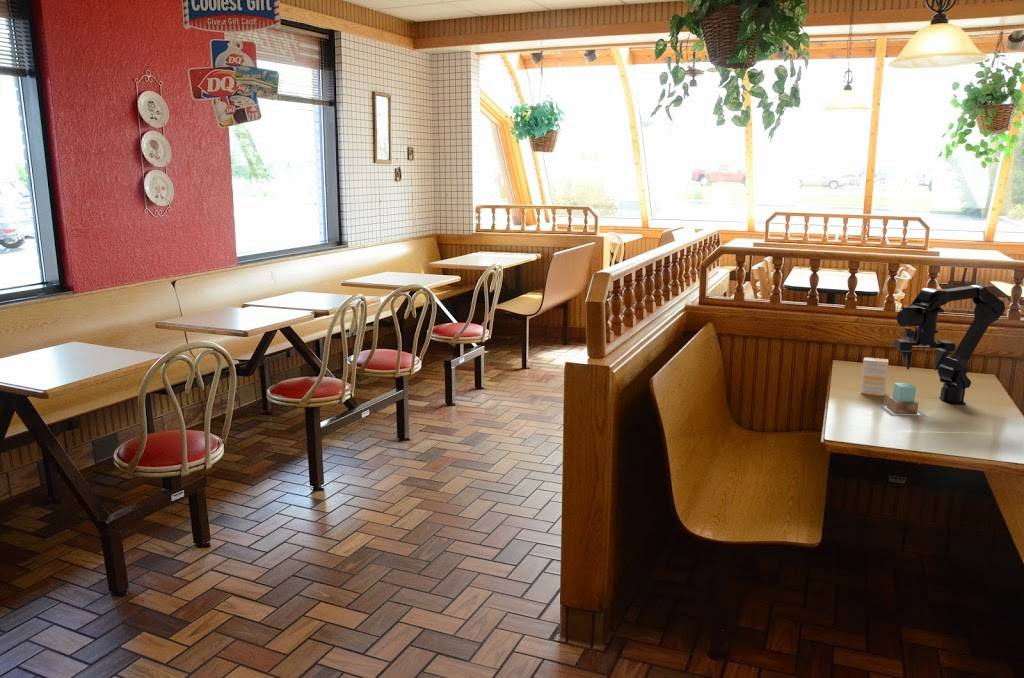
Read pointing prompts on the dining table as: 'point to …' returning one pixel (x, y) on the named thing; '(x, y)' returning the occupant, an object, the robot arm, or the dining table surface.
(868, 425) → the dining table surface
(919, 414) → the mat
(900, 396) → the teal cube
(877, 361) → the supplement box
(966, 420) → the dining table surface
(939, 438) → the dining table surface
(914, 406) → the walnut block
